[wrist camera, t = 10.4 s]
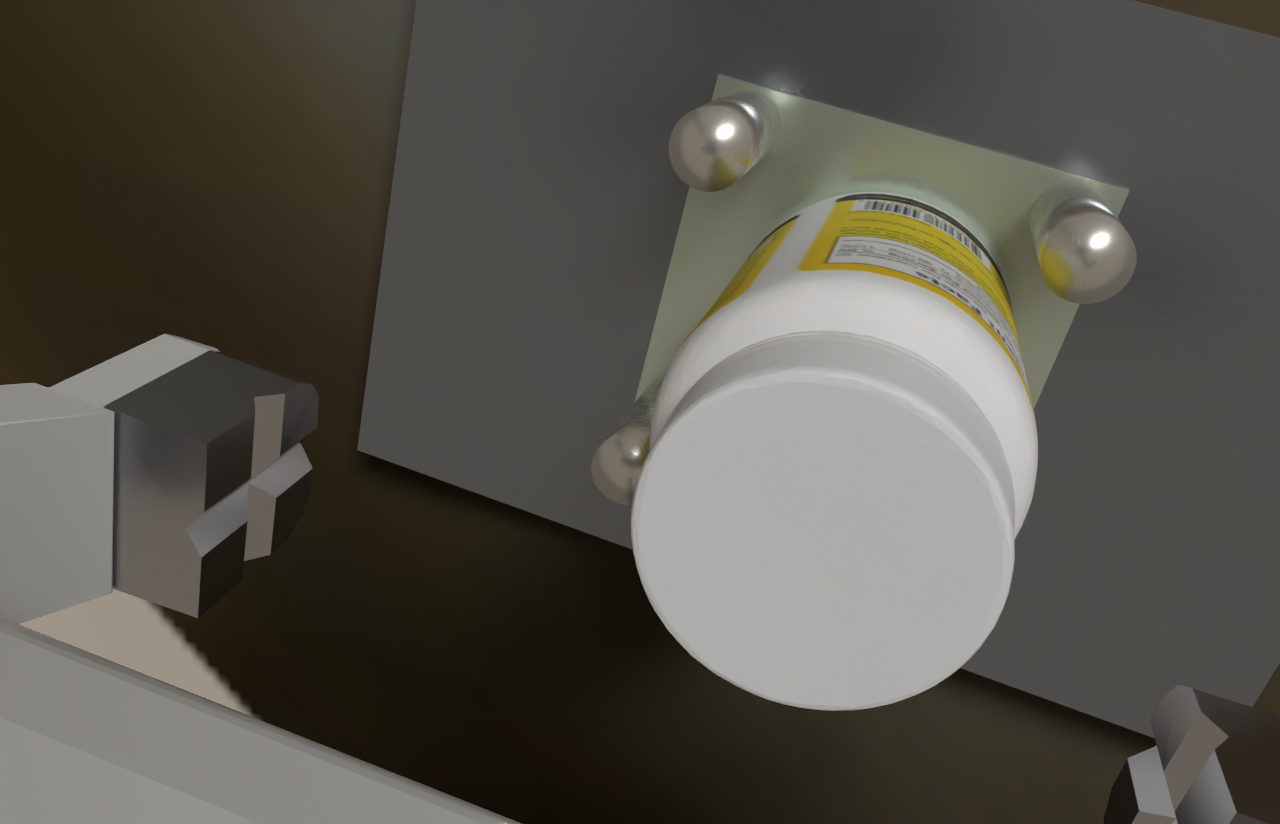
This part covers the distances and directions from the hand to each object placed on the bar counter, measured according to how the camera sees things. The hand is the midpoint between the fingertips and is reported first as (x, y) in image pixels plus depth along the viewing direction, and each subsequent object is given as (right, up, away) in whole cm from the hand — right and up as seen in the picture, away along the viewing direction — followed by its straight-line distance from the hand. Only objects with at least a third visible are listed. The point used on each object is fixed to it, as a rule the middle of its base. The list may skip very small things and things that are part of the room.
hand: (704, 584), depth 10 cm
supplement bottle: (+3, +3, +9) cm, 10 cm away
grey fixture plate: (+3, +4, +10) cm, 11 cm away
